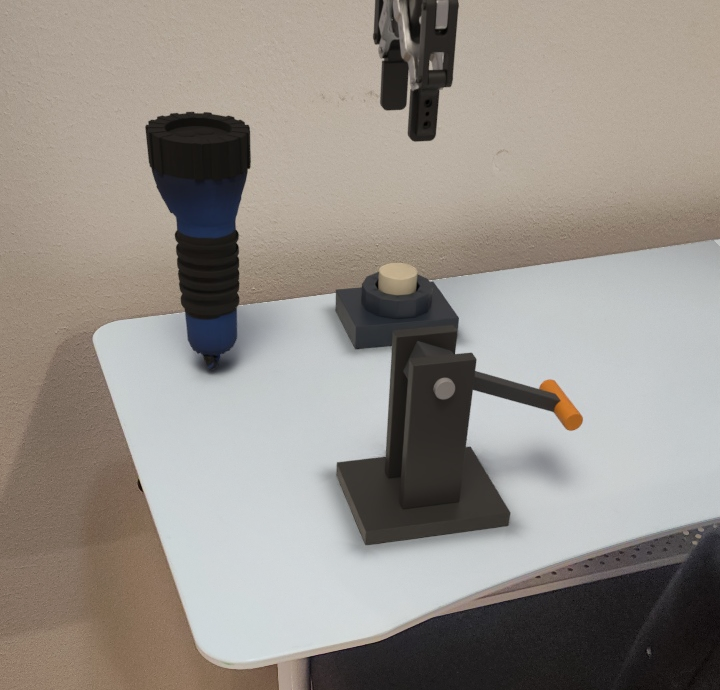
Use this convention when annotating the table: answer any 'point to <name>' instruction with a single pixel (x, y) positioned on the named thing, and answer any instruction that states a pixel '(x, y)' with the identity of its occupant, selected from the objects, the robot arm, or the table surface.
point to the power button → (397, 279)
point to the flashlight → (203, 217)
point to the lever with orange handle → (514, 389)
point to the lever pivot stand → (424, 451)
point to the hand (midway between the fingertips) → (406, 123)
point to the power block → (390, 311)
